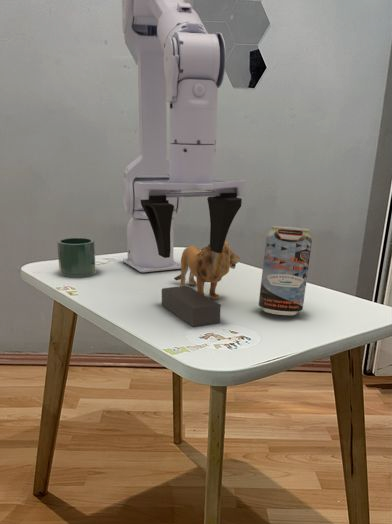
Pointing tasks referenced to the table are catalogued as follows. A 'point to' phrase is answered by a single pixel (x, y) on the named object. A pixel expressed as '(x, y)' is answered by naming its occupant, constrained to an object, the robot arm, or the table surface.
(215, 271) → the lion figurine
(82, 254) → the cup
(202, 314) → the black bar
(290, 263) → the beverage can
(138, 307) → the table surface
